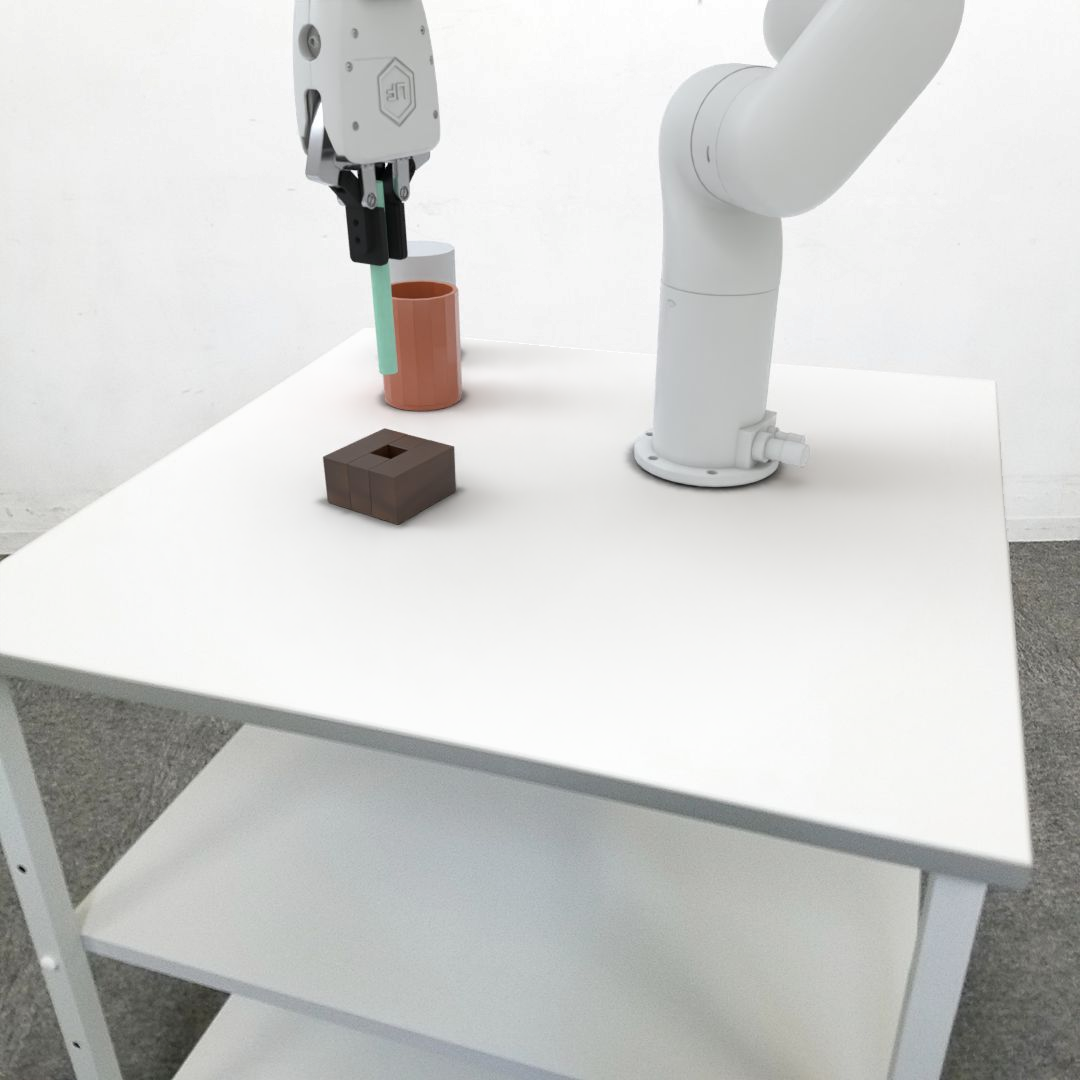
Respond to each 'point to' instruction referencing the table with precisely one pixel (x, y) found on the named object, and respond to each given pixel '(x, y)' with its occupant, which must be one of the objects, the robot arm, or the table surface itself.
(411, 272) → the light grey cylinder
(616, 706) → the table surface
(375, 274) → the straw
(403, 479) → the holder
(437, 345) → the tumbler
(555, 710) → the table surface
